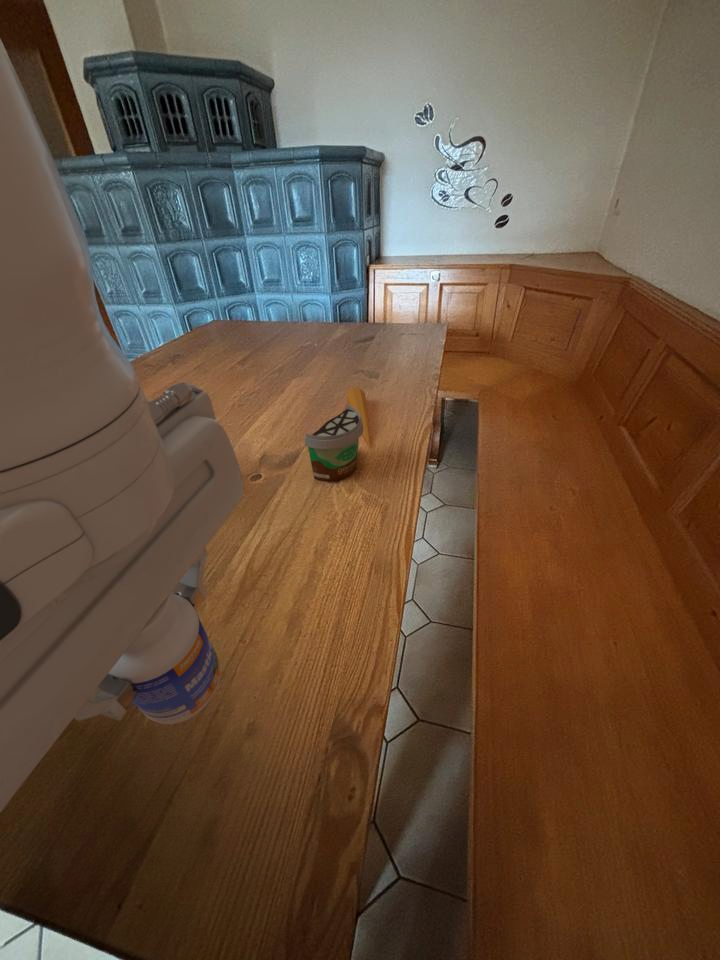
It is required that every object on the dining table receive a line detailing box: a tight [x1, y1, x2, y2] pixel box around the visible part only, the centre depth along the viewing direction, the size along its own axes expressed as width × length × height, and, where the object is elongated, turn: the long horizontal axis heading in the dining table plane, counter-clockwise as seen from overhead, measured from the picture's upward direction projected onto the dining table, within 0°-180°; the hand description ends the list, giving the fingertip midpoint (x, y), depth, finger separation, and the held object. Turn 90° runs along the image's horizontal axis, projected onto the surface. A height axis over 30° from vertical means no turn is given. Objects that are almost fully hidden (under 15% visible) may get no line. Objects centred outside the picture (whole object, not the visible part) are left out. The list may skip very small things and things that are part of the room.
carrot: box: [346, 386, 372, 450], centre depth 81 cm, size 20×4×4 cm, turn 10°
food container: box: [304, 403, 363, 483], centre depth 66 cm, size 12×6×10 cm, turn 147°
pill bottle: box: [108, 592, 222, 725], centre depth 24 cm, size 5×5×10 cm
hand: (158, 647), depth 24 cm, fingers closed on pill bottle, 5 cm apart
